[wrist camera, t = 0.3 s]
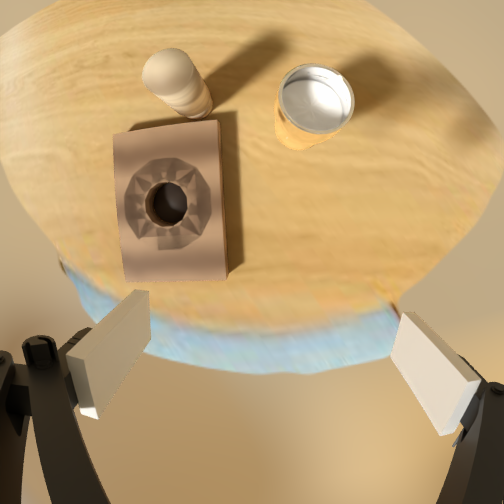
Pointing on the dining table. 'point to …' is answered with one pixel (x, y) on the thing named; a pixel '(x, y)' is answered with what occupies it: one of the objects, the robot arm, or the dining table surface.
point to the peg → (177, 83)
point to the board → (171, 203)
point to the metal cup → (311, 106)
